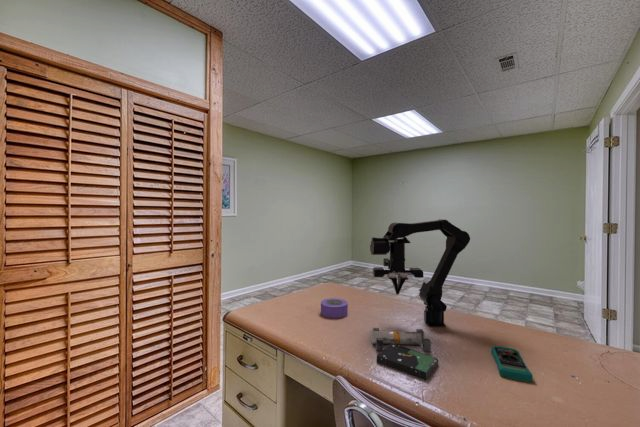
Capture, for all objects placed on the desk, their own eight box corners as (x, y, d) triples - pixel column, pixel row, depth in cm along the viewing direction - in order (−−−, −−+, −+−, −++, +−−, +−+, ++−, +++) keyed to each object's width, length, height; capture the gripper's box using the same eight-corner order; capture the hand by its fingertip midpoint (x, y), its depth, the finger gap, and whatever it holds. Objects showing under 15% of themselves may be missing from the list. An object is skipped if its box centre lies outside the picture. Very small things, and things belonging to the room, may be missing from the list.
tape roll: (352, 312, 125) (352, 300, 125) (339, 320, 115) (339, 308, 115) (329, 307, 131) (329, 296, 131) (315, 315, 121) (315, 303, 121)
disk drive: (376, 365, 83) (427, 383, 74) (375, 355, 83) (427, 372, 74) (390, 351, 91) (438, 365, 82) (390, 342, 91) (438, 356, 82)
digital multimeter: (518, 357, 86) (518, 347, 86) (533, 385, 73) (533, 373, 73) (490, 352, 89) (490, 343, 89) (500, 378, 75) (500, 367, 75)
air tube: (418, 343, 95) (417, 330, 96) (422, 346, 92) (421, 332, 93) (371, 342, 96) (370, 329, 97) (372, 344, 92) (372, 331, 93)
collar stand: (422, 338, 98) (422, 328, 98) (431, 352, 88) (431, 341, 88) (372, 337, 99) (372, 327, 99) (376, 351, 89) (376, 340, 89)
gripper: (415, 251, 118) (415, 288, 118) (370, 251, 119) (371, 288, 119) (423, 256, 107) (423, 296, 107) (374, 255, 108) (374, 296, 108)
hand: (397, 294), depth 110 cm, fingers closed
